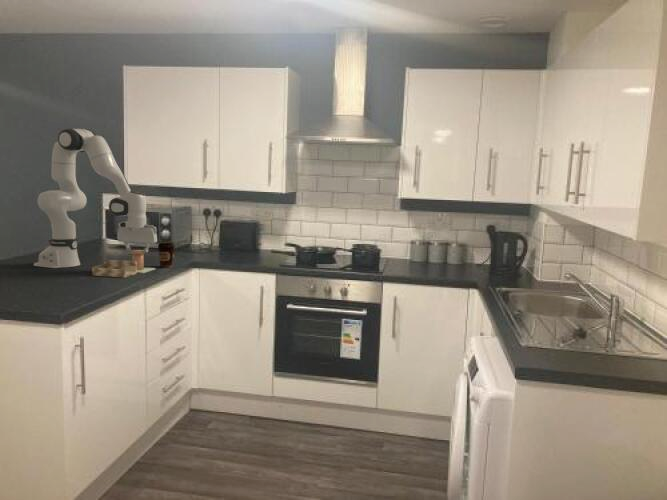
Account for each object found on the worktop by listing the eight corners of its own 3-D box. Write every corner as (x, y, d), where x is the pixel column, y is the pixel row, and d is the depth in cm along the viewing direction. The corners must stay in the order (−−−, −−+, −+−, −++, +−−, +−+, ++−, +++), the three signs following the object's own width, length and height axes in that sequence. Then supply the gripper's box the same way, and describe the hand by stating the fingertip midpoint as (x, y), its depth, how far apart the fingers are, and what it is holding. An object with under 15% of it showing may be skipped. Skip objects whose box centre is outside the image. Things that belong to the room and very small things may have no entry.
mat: (121, 271, 286) (121, 270, 286) (133, 267, 298) (133, 266, 298) (143, 273, 284) (143, 272, 284) (155, 269, 295) (155, 268, 295)
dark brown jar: (169, 268, 298) (169, 243, 296) (154, 267, 299) (154, 243, 297) (177, 266, 306) (177, 241, 304) (163, 265, 308) (162, 241, 306)
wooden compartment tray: (92, 275, 275) (91, 262, 274) (105, 271, 286) (105, 259, 285) (124, 277, 272) (124, 264, 271) (137, 273, 283) (136, 261, 282)
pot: (128, 270, 288) (128, 251, 287) (135, 268, 294) (135, 249, 293) (140, 270, 287) (140, 251, 286) (147, 268, 293) (147, 250, 292)
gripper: (159, 224, 289) (159, 252, 291) (122, 222, 292) (122, 249, 294) (153, 225, 282) (153, 253, 285) (115, 223, 286) (115, 250, 288)
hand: (137, 251), depth 290 cm, fingers open, 8 cm apart
